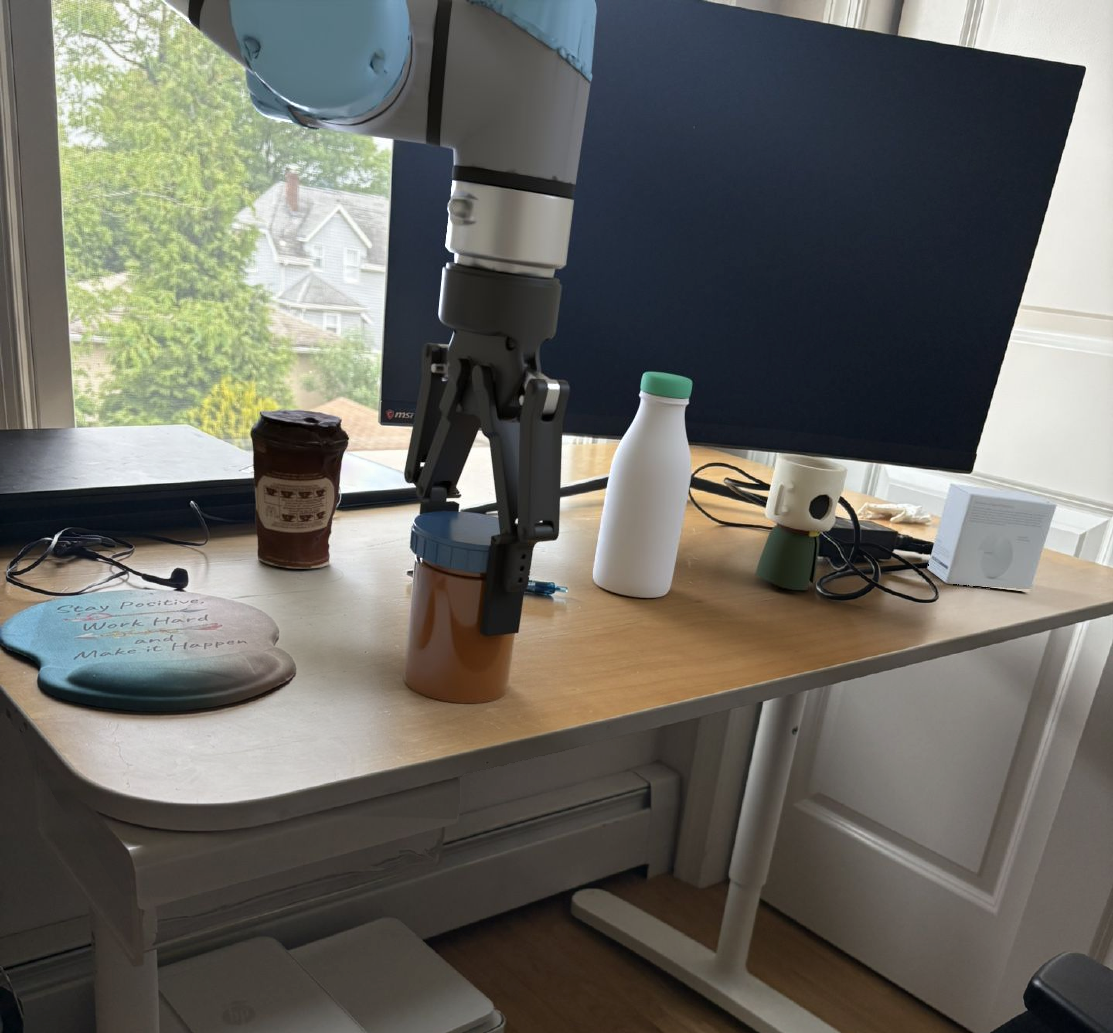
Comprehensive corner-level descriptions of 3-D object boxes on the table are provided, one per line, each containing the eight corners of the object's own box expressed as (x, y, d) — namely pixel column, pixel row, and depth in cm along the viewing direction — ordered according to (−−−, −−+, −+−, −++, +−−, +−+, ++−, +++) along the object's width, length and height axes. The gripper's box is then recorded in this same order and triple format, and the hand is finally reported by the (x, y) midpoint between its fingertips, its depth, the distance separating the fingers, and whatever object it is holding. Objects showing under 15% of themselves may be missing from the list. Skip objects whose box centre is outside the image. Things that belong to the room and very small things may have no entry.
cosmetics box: (1006, 578, 137) (1034, 492, 133) (1030, 594, 131) (1060, 505, 127) (924, 567, 136) (949, 480, 132) (944, 584, 130) (971, 493, 126)
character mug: (785, 603, 113) (816, 473, 108) (726, 582, 117) (753, 456, 112) (837, 589, 121) (869, 467, 116) (780, 569, 125) (808, 451, 120)
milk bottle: (673, 604, 108) (715, 387, 99) (592, 593, 107) (628, 374, 99) (665, 580, 115) (704, 376, 106) (589, 570, 114) (623, 363, 106)
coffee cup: (345, 579, 100) (355, 430, 95) (247, 573, 98) (252, 420, 92) (335, 550, 108) (345, 410, 102) (245, 544, 105) (249, 400, 100)
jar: (406, 700, 78) (421, 551, 74) (400, 659, 85) (413, 520, 81) (514, 706, 80) (535, 561, 76) (499, 665, 87) (518, 530, 82)
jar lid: (387, 539, 79) (390, 512, 78) (488, 534, 84) (491, 509, 83) (450, 577, 73) (453, 548, 72) (554, 570, 78) (558, 543, 77)
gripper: (370, 240, 76) (347, 567, 85) (555, 283, 61) (503, 672, 71) (464, 253, 80) (433, 562, 90) (658, 295, 66) (596, 659, 75)
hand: (464, 610), depth 80 cm, fingers closed on jar lid, 8 cm apart
